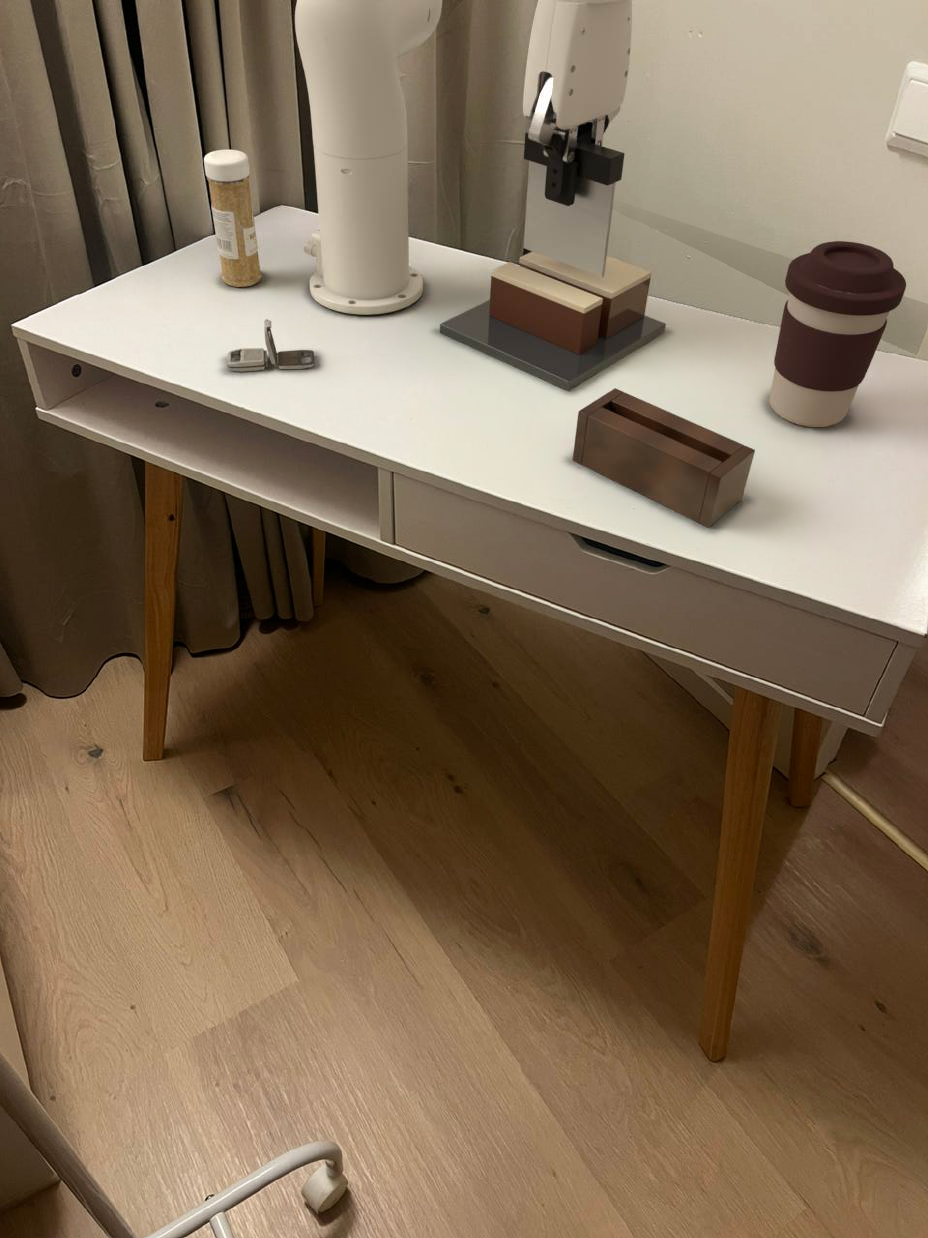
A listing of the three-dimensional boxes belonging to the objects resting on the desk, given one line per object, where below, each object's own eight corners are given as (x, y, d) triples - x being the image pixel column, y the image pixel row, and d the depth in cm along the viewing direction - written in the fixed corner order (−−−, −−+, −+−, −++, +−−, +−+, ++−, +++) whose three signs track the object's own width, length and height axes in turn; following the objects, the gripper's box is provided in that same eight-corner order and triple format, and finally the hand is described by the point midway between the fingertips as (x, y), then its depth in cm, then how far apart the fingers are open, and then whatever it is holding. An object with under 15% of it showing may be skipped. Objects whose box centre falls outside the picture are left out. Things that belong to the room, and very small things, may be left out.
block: (572, 460, 88) (578, 410, 84) (607, 436, 91) (615, 387, 87) (708, 527, 81) (721, 477, 78) (742, 499, 84) (755, 449, 81)
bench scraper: (517, 250, 102) (524, 132, 94) (531, 244, 103) (539, 127, 95) (596, 280, 97) (611, 158, 89) (609, 273, 98) (625, 152, 90)
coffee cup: (782, 372, 100) (823, 223, 90) (876, 406, 96) (930, 254, 86) (735, 411, 95) (773, 256, 84) (833, 449, 90) (885, 292, 80)
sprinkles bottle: (269, 282, 112) (254, 157, 103) (231, 291, 110) (213, 165, 101) (251, 267, 115) (236, 144, 105) (214, 276, 113) (196, 151, 104)
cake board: (439, 332, 104) (440, 277, 100) (540, 282, 114) (544, 230, 110) (567, 391, 96) (574, 333, 92) (664, 332, 106) (674, 278, 102)
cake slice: (488, 315, 105) (491, 270, 102) (507, 306, 107) (509, 261, 104) (579, 354, 100) (584, 307, 96) (597, 344, 101) (603, 298, 98)
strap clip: (227, 373, 97) (221, 332, 94) (228, 357, 99) (222, 318, 96) (315, 368, 98) (311, 329, 95) (314, 353, 100) (310, 314, 97)
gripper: (608, -46, 89) (586, 167, 102) (493, -21, 80) (484, 209, 93) (679, -33, 86) (647, 186, 98) (567, -5, 77) (547, 232, 89)
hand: (568, 195), depth 96 cm, fingers closed on bench scraper, 2 cm apart
